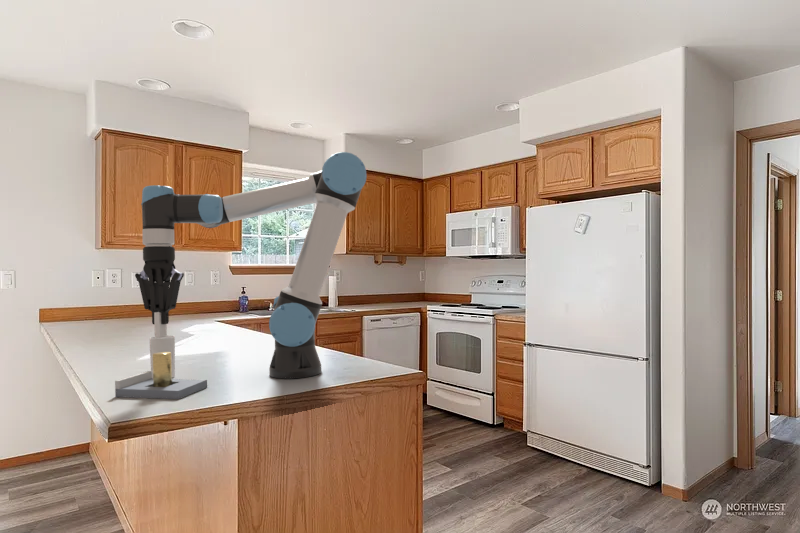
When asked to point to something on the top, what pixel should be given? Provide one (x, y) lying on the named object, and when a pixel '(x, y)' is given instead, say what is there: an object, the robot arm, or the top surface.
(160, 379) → the gold rectangular block
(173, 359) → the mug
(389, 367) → the top surface
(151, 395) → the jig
